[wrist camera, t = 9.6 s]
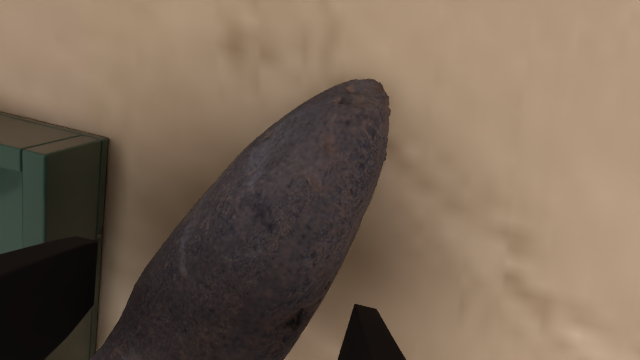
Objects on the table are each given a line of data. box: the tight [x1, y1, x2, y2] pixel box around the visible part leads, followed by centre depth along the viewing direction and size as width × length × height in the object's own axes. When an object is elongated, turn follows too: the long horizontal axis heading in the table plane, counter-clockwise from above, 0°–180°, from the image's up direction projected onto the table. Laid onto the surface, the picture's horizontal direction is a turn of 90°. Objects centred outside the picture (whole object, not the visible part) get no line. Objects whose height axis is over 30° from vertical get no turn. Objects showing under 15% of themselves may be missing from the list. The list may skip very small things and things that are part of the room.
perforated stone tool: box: [90, 79, 391, 360], centre depth 12 cm, size 15×5×7 cm, turn 144°
